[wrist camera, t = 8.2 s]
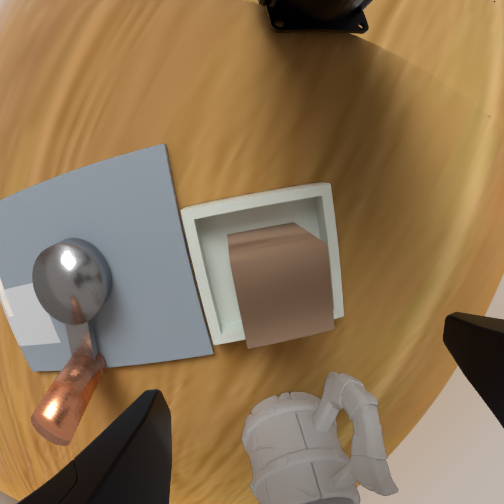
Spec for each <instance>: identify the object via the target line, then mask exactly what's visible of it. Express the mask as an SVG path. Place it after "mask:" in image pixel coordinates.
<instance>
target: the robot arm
mask: <svg viewBox="0 0 504 504" xmlns="http://www.w3.org/2000/svg"><path fill="white" fill-rule="evenodd" d="M371 1H372V0H258V2H259V4H260V5H262V6H265V9H266V13H267V16H268V20H269V24H270V28H271V30H273V31H274V32H276V33H291V32H340V33H358V34H363V33H365V32H366V31H367V30H368V29H369V27H368V23H367V21H366V18H365V15H364V12H363V9H364V8H365V7H366V6H367V5H368V4H369V3H370V2H371ZM277 23H279V24H281V25H282V27H278V26H276V24H277ZM359 25H361V26H362V28H360V27H359ZM443 341H444V344H445V346H446V347H447V349H448V350H449V352H450V353H451V355H452V356H453V358H454V359H455V361H456V363H457V364H458V366H459V367H460V369H461V370H462V372H463V373H464V375H465V376H466V378H467V379H468V380H469V382H470V383H471V384H472V386H473V387H474V388H475V390H476V391H477V392H478V393H479V395H480V396H481V397H482V399H483V400H484V402H485V403H486V404H487V406H488V407H489V408H490V410H491V411H492V412H493V414H494V415H495V417H496V418H497V419H498V420H499V422H500V423H501V425H502V427H503V428H504V320H503V319H497V318H491V317H485V316H479V315H473V314H467V313H461V312H454V313H452V314H450V315H448V316H447V317H446V319H445V325H444V333H443ZM171 468H172V438H171V413H170V409H169V407H168V405H167V403H166V401H165V399H164V397H163V394H162V392H161V391H160V390H158V389H154V390H146V391H145V392H144V393H143V394H142V395H141V396H139V397H138V398H137V399H136V400H135V401H134V402H133V403H132V404H131V405H130V406H129V407H128V408H127V409H126V410H125V411H124V412H123V413H122V414H121V415H120V416H119V417H118V418H117V419H116V420H115V421H113V422H112V423H111V424H110V425H109V426H108V427H107V428H106V429H105V430H104V431H103V432H102V433H101V434H100V435H99V436H98V437H97V438H96V439H94V440H93V441H92V442H91V443H90V444H89V445H88V446H87V447H86V448H85V449H84V450H83V451H82V452H81V453H79V454H78V455H77V456H76V457H75V458H74V460H72V461H71V462H70V463H69V464H67V465H66V466H65V467H64V468H63V469H62V470H61V471H60V472H58V473H57V474H56V475H55V476H54V477H53V478H51V479H50V480H49V481H47V482H46V483H45V484H43V485H42V486H41V487H39V488H38V489H37V490H35V491H34V492H32V493H31V494H30V495H28V496H27V497H25V498H24V499H23V500H21V501H20V502H18V503H17V504H169V494H170V481H171Z"/></svg>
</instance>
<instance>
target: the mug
mask: <svg viewBox="0 0 504 504" xmlns="http://www.w3.org/2000/svg"><path fill="white" fill-rule="evenodd" d="M377 407H378V402H377V400H376V398H375V397H374V395H372V394H371V393H369V392H368V391H366V389H365V388H364V385H363V384H362V383H361V382H360V381H359V380H358V379H356V378H354V377H352V376H350V375H348V374H345V373H340V374H339V373H337V372H333V371H331V372H330V373H329V374H328V375H327V378H326V381H325V386H324V391H323V395H322V398H321V399H320V398H318V397H316V396H314V395H312V394H309V393H306V392H291V394H290V393H289V392H286V393H281V395H280V396H278V397H277V396H276V395H273V396H271V397H268V398H266V399H265V400H263V401H261V402H260V403H258V404H257V405H256V406H254V408H253V409H252V410H251V412H252V414H250V415H248V416H247V417H246V421H245V426H244V429H243V433H242V442H243V445H244V448H245V450H246V452H247V453H248V454H249V458H250V462H251V466H252V471H253V479H252V482H250V488H251V490H252V492H253V494H254V496H255V497H256V499H257V500H259V504H359V503H360V495H359V493H358V490H357V487H356V484H355V483H356V482H357V481H358V482H359V483H360V484H361V485H362V486H363V487H365V488H367V489H368V490H371V491H375V492H376V493H377V494H380V495H383V496H388V495H391V494H394V493H396V492H398V488H397V486H396V485H395V484H394V481H393V480H392V477H391V474H390V471H389V467H388V464H387V461H386V459H387V455H386V451H385V447H384V443H383V437H382V426H381V425H380V421H379V415H378V411H377ZM340 409H344V410H345V411H346V413H347V414H348V416H349V419H350V421H353V436H352V447H351V453H350V454H351V455H352V457H351V459H349V457H348V456H347V455H346V454H345V453H344V452H343V449H342V447H341V445H340V442H339V439H338V436H337V434H336V433H337V422H336V417H337V415H338V413H339V410H340Z"/></svg>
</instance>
